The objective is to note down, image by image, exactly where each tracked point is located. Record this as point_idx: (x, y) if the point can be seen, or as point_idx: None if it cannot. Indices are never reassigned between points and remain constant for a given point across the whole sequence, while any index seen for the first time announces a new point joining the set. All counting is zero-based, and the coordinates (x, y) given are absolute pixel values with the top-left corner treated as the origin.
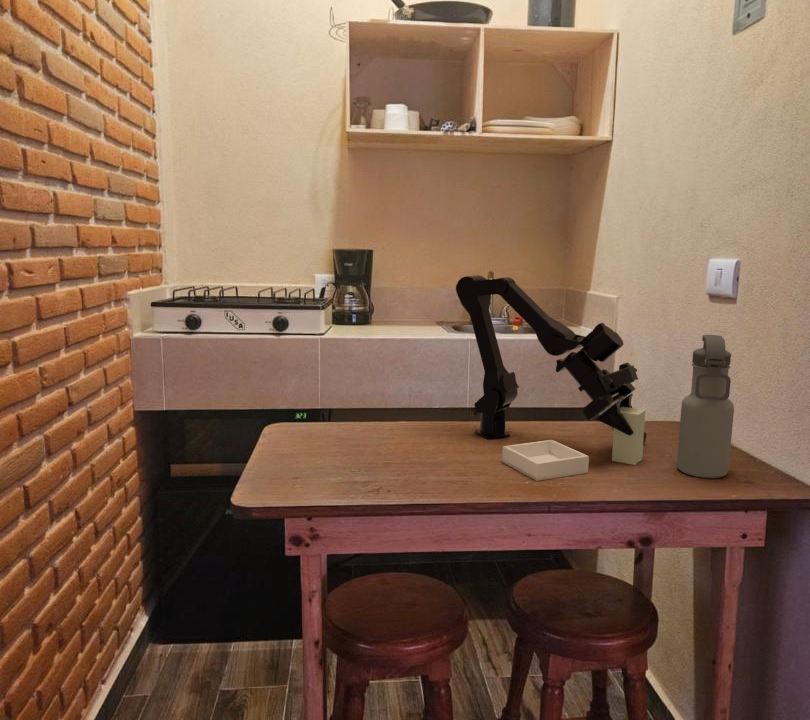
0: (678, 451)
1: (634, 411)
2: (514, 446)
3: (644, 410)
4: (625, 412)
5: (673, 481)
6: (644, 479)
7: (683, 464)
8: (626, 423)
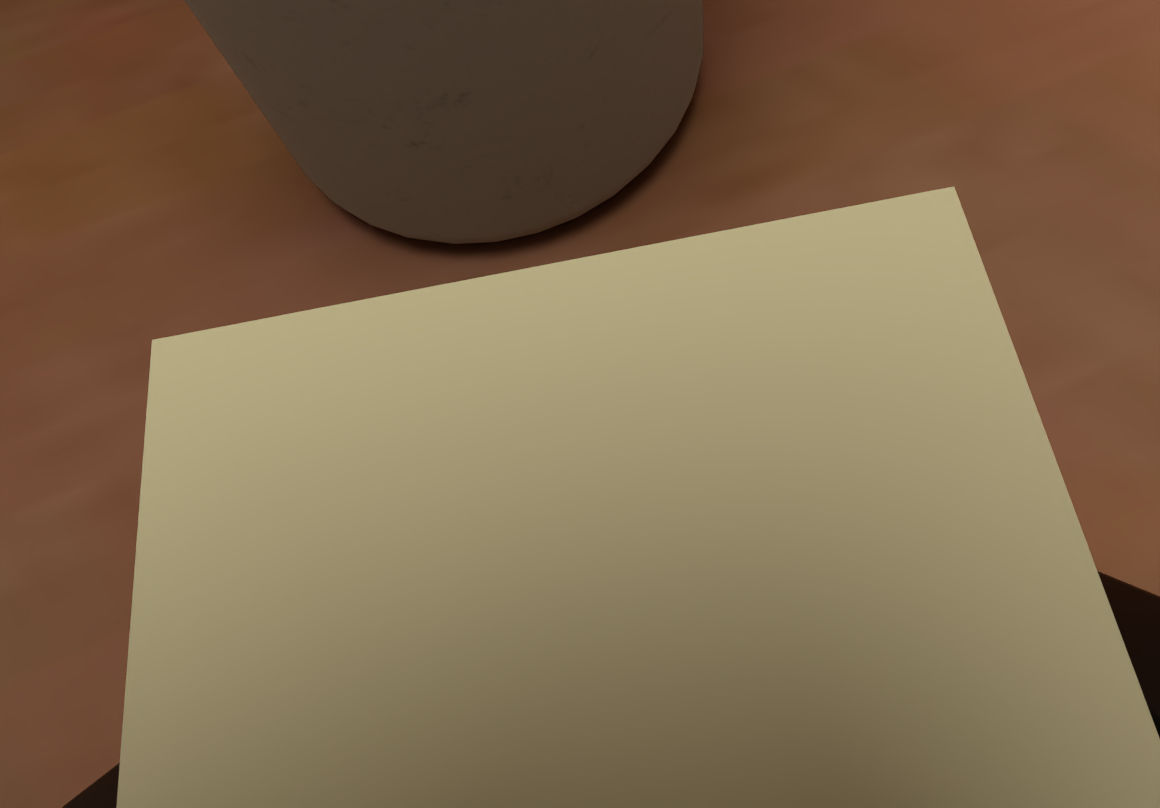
0: (582, 87)
1: (599, 505)
2: None
3: (227, 336)
4: (1070, 699)
5: (955, 107)
6: (1156, 289)
7: (681, 78)
8: (1113, 582)
